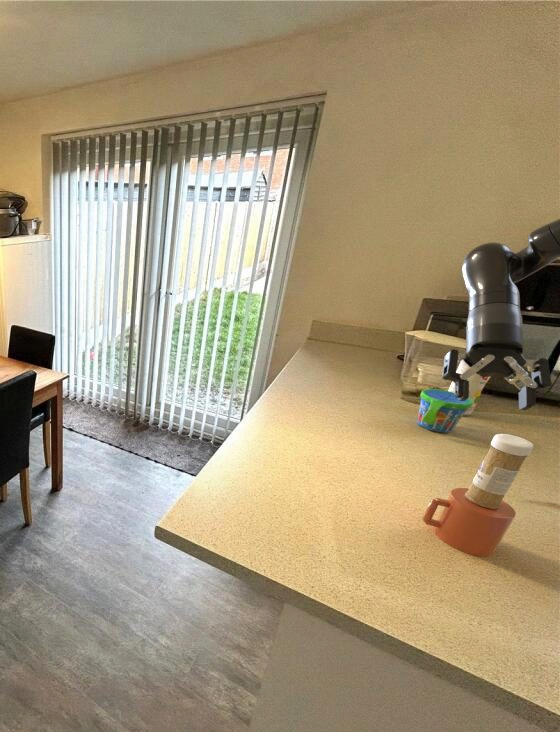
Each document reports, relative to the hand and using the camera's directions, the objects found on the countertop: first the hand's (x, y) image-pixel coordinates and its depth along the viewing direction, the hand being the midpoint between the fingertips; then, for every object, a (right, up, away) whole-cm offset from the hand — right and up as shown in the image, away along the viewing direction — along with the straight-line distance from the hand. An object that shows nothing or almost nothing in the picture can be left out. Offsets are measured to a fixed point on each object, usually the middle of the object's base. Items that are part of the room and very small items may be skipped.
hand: (493, 404), depth 75 cm
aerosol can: (+44, -5, +49) cm, 66 cm away
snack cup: (+28, -9, +40) cm, 50 cm away
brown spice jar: (-5, -18, -2) cm, 19 cm away
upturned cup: (-6, -26, +2) cm, 27 cm away
